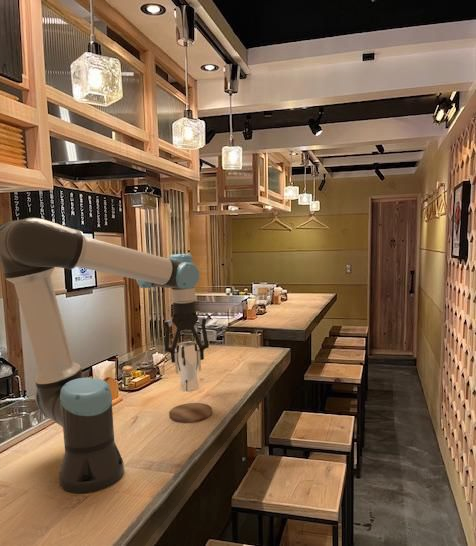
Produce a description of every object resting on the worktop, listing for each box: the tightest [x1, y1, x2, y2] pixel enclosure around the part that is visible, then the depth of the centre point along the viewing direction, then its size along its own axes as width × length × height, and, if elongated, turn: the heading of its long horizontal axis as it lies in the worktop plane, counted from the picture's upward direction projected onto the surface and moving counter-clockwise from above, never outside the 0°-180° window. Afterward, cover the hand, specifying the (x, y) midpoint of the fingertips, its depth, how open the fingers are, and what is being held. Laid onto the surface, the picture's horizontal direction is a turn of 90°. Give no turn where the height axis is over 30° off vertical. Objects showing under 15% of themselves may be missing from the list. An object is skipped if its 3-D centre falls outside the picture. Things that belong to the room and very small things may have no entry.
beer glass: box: [176, 341, 200, 392], centre depth 146 cm, size 7×7×15 cm
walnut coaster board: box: [168, 402, 213, 424], centre depth 147 cm, size 14×14×1 cm
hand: (188, 370), depth 146 cm, fingers closed on beer glass, 7 cm apart
